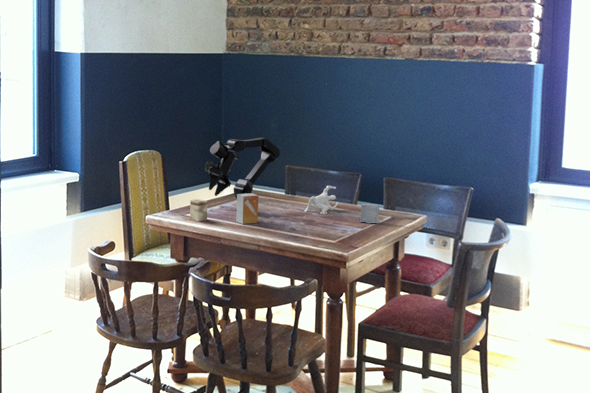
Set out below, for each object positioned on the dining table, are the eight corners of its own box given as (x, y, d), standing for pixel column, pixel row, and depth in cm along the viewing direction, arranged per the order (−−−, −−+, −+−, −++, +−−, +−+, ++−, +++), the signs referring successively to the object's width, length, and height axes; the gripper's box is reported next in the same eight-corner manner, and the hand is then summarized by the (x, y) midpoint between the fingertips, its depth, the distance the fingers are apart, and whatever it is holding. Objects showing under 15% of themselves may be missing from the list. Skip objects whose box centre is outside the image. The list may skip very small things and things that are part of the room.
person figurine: (323, 194, 323) (335, 182, 339) (299, 196, 329) (312, 185, 344) (328, 218, 326) (340, 206, 342) (305, 220, 332) (318, 208, 348)
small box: (242, 224, 299) (243, 196, 297) (235, 221, 304) (236, 193, 302) (258, 222, 303) (258, 195, 301) (251, 220, 309) (252, 192, 306)
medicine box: (378, 222, 314) (379, 204, 312) (376, 224, 310) (377, 206, 308) (362, 220, 316) (363, 203, 315) (360, 222, 312) (361, 204, 311)
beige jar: (199, 217, 309) (199, 198, 308) (207, 219, 306) (207, 200, 304) (190, 219, 305) (190, 200, 304) (197, 221, 302) (198, 202, 300)
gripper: (217, 164, 324) (203, 193, 321) (205, 151, 307) (191, 181, 304) (236, 171, 321) (223, 200, 318) (226, 158, 304) (212, 189, 301)
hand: (212, 192), depth 310 cm, fingers open, 9 cm apart
